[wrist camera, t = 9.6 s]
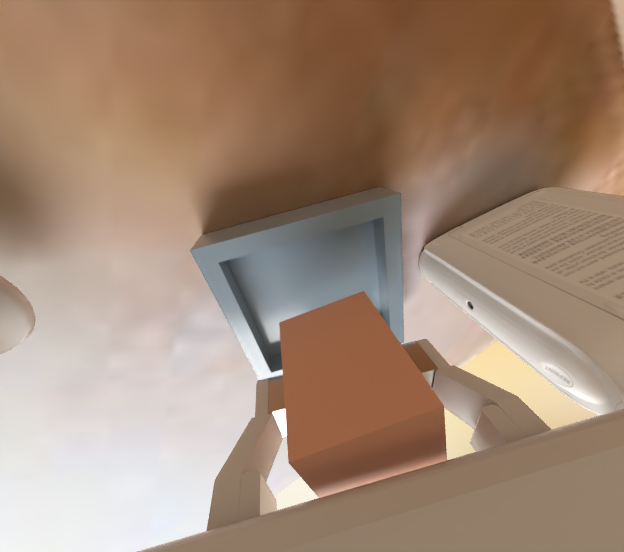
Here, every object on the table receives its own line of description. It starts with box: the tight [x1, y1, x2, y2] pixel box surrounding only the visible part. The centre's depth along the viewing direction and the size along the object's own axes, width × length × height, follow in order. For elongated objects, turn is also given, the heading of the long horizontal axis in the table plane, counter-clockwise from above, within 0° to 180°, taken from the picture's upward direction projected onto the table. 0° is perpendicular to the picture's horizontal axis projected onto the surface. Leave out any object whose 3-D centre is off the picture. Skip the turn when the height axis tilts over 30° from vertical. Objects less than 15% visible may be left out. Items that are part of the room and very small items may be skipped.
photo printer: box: [419, 187, 624, 415], centre depth 12 cm, size 10×4×12 cm, turn 114°
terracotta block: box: [279, 291, 447, 498], centre depth 10 cm, size 4×4×6 cm
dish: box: [190, 187, 404, 380], centre depth 15 cm, size 11×11×2 cm
